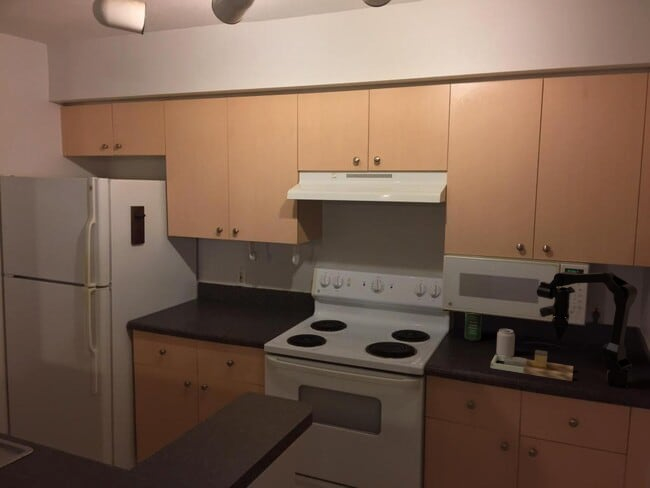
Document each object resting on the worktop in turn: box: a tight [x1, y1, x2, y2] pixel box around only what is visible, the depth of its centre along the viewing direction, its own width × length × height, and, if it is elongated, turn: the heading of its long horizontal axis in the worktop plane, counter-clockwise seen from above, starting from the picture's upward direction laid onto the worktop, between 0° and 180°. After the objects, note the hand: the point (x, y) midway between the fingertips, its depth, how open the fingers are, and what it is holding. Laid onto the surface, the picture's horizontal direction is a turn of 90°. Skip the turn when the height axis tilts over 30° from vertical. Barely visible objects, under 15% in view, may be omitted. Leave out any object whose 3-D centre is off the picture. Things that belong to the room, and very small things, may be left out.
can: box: [495, 328, 516, 357], centre depth 236 cm, size 8×8×12 cm
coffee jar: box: [464, 312, 483, 342], centre depth 260 cm, size 10×8×19 cm
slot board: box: [522, 358, 574, 382], centre depth 215 cm, size 18×12×3 cm, turn 64°
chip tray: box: [490, 353, 528, 374], centre depth 222 cm, size 13×12×3 cm
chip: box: [514, 356, 527, 368], centre depth 220 cm, size 4×4×4 cm
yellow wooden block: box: [534, 349, 548, 370], centre depth 216 cm, size 4×4×8 cm
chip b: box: [503, 356, 516, 366], centre depth 221 cm, size 4×4×4 cm
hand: (559, 337), depth 224 cm, fingers open, 9 cm apart
